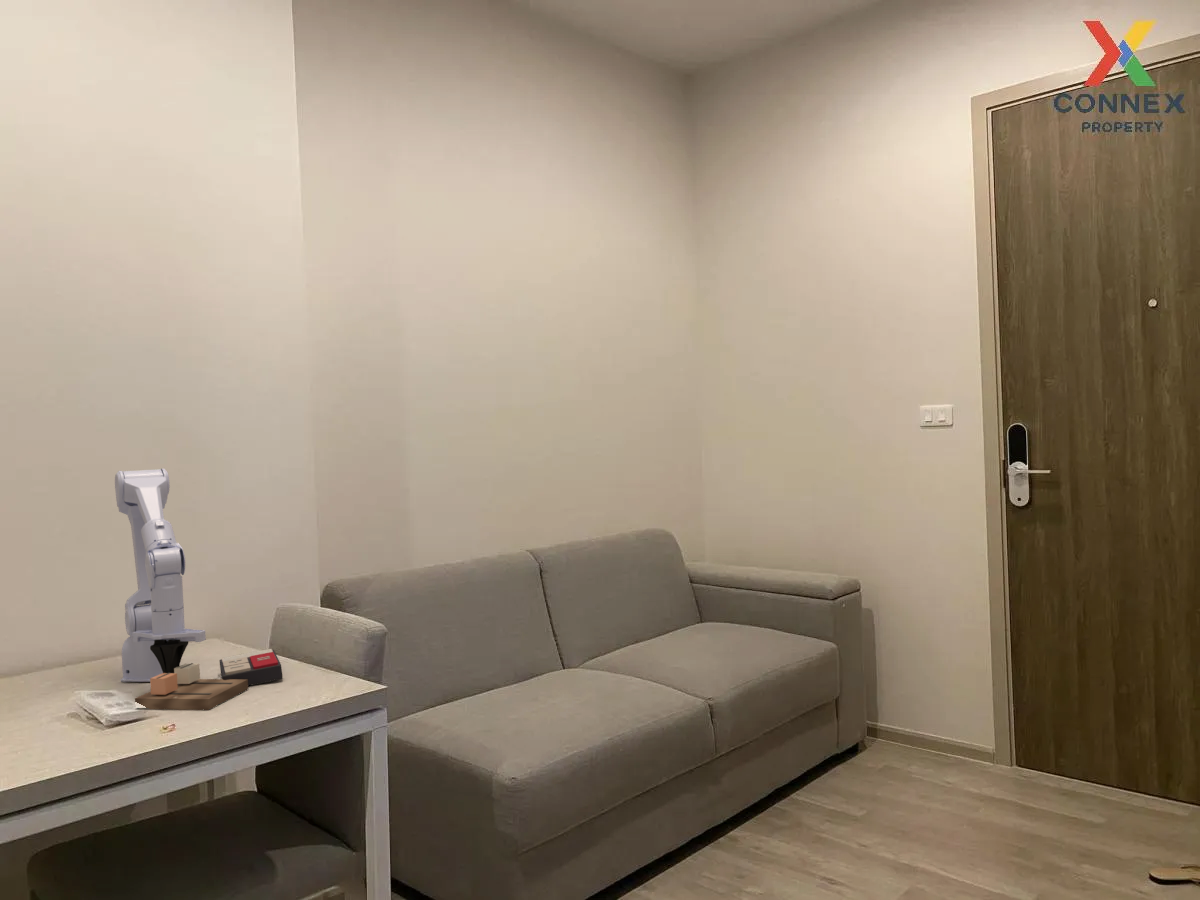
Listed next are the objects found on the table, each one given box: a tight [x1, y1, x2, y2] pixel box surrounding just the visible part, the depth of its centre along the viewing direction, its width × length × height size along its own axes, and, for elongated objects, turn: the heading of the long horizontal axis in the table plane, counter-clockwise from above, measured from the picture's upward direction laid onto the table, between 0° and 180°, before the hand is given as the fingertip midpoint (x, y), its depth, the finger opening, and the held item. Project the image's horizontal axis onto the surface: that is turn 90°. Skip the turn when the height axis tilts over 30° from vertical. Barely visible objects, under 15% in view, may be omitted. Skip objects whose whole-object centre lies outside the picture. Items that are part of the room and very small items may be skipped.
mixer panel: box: [134, 678, 249, 711], centre depth 172 cm, size 15×13×2 cm
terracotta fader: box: [149, 673, 178, 695], centre depth 170 cm, size 3×4×3 cm
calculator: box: [219, 648, 283, 687], centre depth 187 cm, size 11×4×15 cm
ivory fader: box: [174, 662, 201, 684], centre depth 176 cm, size 3×4×3 cm
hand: (171, 678), depth 177 cm, fingers closed
